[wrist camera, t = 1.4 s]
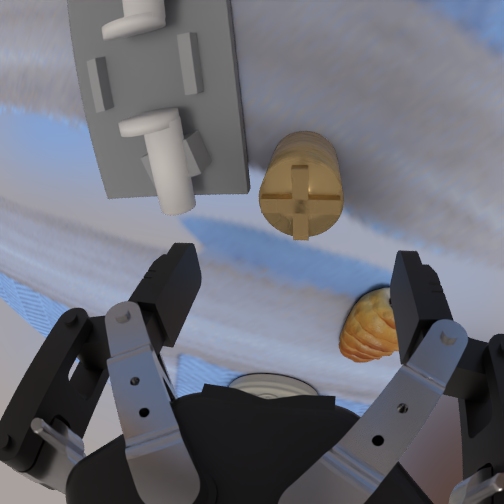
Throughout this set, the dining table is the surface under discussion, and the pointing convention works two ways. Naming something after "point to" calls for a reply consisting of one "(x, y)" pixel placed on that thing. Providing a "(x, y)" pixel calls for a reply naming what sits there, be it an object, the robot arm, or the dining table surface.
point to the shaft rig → (161, 97)
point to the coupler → (302, 186)
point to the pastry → (370, 328)
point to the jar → (272, 386)
